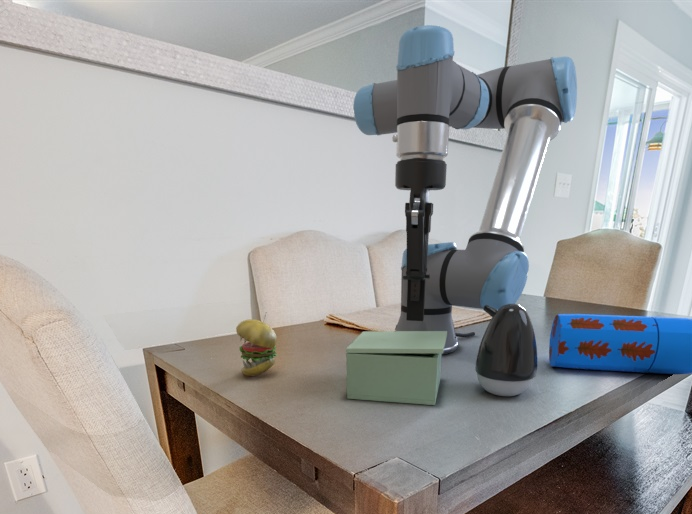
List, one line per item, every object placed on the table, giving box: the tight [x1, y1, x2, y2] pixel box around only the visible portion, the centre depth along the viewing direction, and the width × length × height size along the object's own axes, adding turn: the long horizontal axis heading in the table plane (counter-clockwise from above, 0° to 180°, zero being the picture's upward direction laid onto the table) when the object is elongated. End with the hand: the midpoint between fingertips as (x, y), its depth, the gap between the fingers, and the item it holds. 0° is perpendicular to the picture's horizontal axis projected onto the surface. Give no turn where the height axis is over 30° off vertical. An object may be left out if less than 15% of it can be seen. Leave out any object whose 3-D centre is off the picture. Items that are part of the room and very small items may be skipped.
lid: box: [345, 330, 447, 355], centre depth 78 cm, size 15×13×1 cm
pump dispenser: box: [474, 303, 538, 397], centre depth 78 cm, size 10×10×15 cm
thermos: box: [548, 313, 692, 375], centre depth 91 cm, size 11×11×25 cm
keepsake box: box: [345, 353, 443, 406], centre depth 80 cm, size 15×13×8 cm
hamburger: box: [235, 311, 278, 377], centre depth 86 cm, size 8×7×12 cm
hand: (415, 319), depth 76 cm, fingers closed
